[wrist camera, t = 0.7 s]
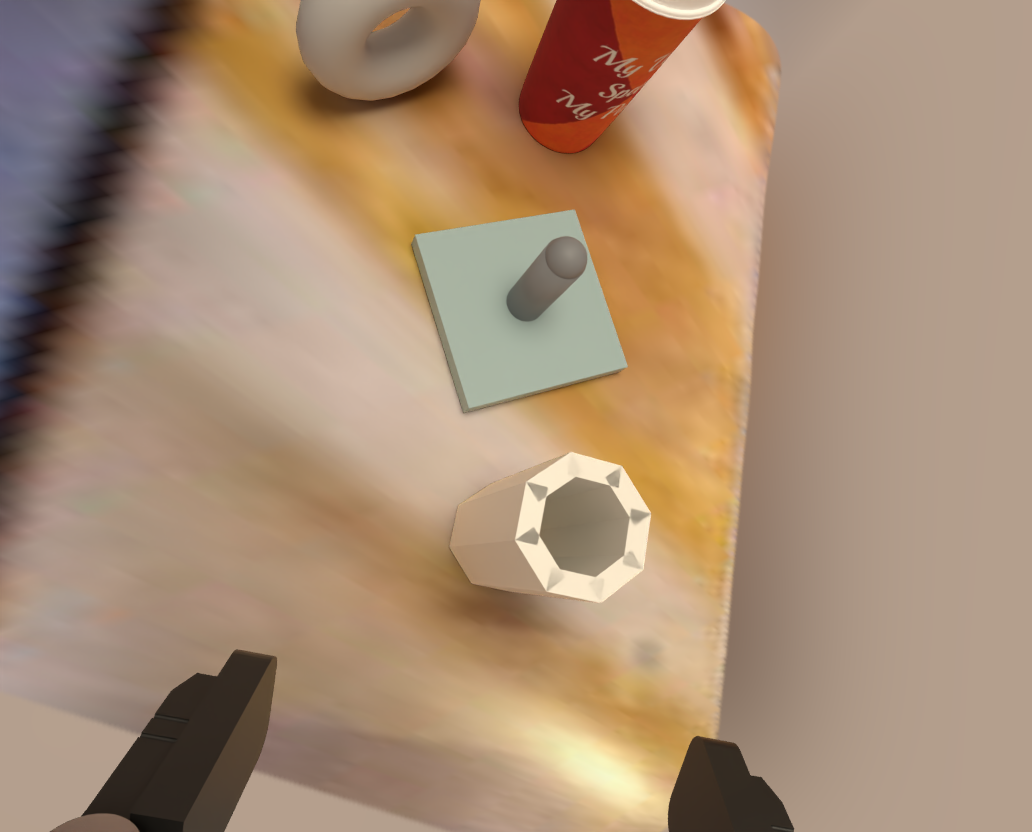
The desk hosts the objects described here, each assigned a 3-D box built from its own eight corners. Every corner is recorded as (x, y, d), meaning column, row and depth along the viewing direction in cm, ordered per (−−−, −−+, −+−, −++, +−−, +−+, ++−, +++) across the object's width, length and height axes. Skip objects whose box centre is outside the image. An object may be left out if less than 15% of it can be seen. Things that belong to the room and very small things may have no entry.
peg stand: (411, 244, 38) (442, 164, 31) (567, 218, 42) (630, 141, 34) (463, 413, 37) (509, 373, 30) (618, 372, 41) (695, 327, 33)
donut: (440, 39, 42) (484, -111, 32) (466, 89, 41) (517, -48, 32) (283, 78, 38) (282, -80, 29) (311, 132, 38) (320, -9, 28)
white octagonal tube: (433, 521, 35) (492, 503, 25) (515, 468, 37) (601, 432, 27) (487, 609, 35) (568, 628, 25) (566, 551, 37) (671, 547, 27)
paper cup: (550, 189, 42) (669, 20, 29) (477, 86, 42) (564, -130, 29) (637, 139, 45) (781, -35, 32) (569, 42, 45) (686, -171, 32)
